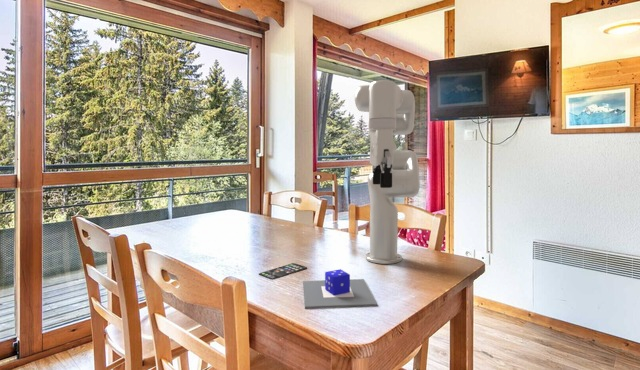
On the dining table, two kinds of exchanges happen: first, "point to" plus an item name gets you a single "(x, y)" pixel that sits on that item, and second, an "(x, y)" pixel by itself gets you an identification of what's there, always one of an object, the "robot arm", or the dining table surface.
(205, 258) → the dining table surface
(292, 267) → the smartphone
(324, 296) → the mat
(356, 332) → the dining table surface
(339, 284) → the die
